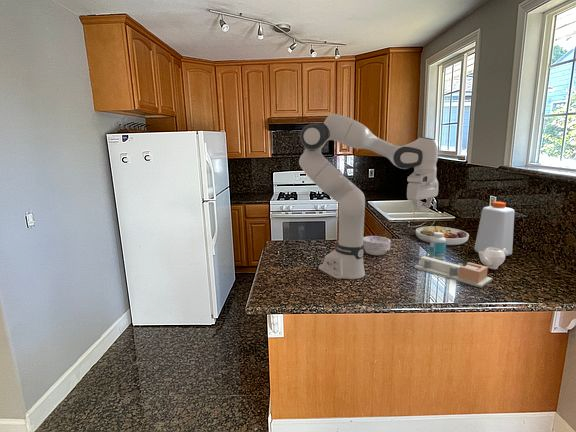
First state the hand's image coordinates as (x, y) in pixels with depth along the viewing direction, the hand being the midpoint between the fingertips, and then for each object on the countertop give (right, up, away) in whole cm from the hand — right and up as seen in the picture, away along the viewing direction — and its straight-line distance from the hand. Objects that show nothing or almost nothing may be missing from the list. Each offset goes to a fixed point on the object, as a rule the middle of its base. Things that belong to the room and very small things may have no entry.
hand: (422, 208), depth 147 cm
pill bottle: (+20, -25, +31) cm, 44 cm away
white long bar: (+16, -28, +11) cm, 34 cm away
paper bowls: (-10, -24, +39) cm, 47 cm away
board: (+17, -30, +9) cm, 36 cm away
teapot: (+41, -28, +17) cm, 52 cm away
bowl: (+37, -18, +65) cm, 77 cm away
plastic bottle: (+54, -24, +39) cm, 70 cm away
